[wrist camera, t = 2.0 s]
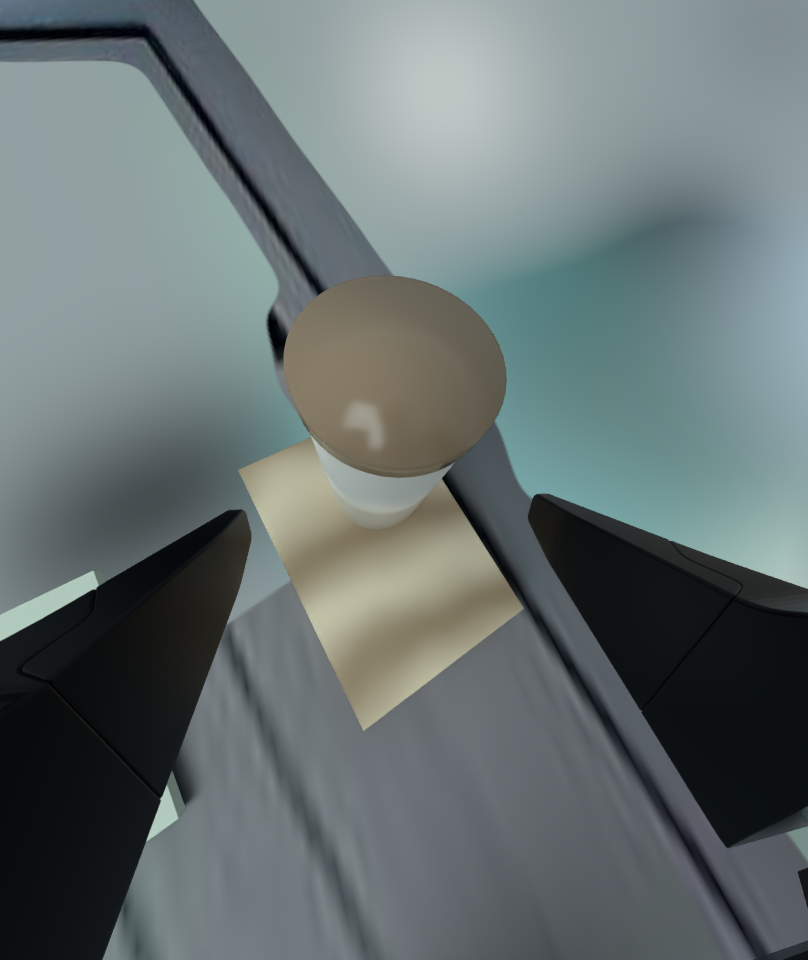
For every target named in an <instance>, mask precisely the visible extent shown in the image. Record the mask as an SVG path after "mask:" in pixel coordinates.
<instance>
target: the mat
mask: <svg viewBox="0 0 808 960" xmlns="http://www.w3.org/2000/svg"><path fill="white" fill-rule="evenodd" d="M104 582H106V580H105V576H104V574H103V571H102V570H101V571H100V570H97V571H96V570H94V571H91V572H89V573H87V574H85V575H83V576H81V577H79V578H77V579H74V580H72V581H70V582H68V583H66V584H64V585H62V586H60V587H58V588H55V589H53V590H51V591H49V592H47V593H45V594H43V595H41V596H39V597H36V598H34V599H32V600H30V601H28V602H26V603H24V604H22V605H20V606H18V607H15V608H13V609H11V610H9V611H7V612H5V613H3V614H1V615H0V641H1V640H3V639H5V638H7V637H9V636H10V635H12V634H14V633H16V632H18V631H20V630H22V629H23V628H25V627H27V626H29V625H31V624H33V623H35V622H36V621H38V620H40V619H42V618H44V617H45V616H47V615H49V614H51V613H52V612H54V611H56V610H58V609H59V608H61V607H63V606H65V605H67V604H68V603H70V602H72V601H74V600H75V599H77V598H79V597H80V596H82V595H84V594H85V593H87V592H89V591H91V590H93V589H95V590H96V588H97V587H98V586H99V585H101V584H103V583H104ZM160 799H161V803H160V805H159V808H158V811H157V814H156V816H155V819H154V822H153V824H152V827H151V830H150V832H149V835H148V838H147V841H148V840H149V839H151V838H152V837H154V836H155V835H156V834H158V833H159V832H161V831H162V830H163V829H165V828H166V827H168V826H169V825H170V824H172V823H173V822H175V821H176V820H177V819H179V817H180V816H181V815H182V813H183V812H184V811H185V809H186V808H185V805H184V802H183V800H182V797H181V794H180V791H179V788H178V785H177V782H176V780H175V777H174V774H173V771H172V772H171V775H170V778H169V780H168V783H167V786H166V788H165V791H164V794H163V796H162V798H160ZM147 841H146V842H147Z"/></svg>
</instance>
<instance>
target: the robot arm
mask: <svg viewBox="0 0 808 960" xmlns="http://www.w3.org/2000/svg"><path fill="white" fill-rule="evenodd" d="M528 520H529V523H530V525H531V527H532V529H533V532H534V534H535V536H536V538H537V540H538V542H539V544H540V546H541V548H542V550H543V552H544V554H545V556H546V558H547V560H548V562H549V563H550V565H551V567H552V568H553V570H554V572H555V573H556V575H557V576H558V578H559V580H560V581H561V583H562V585H563V586H564V588H565V589H566V591H567V593H568V594H569V596H570V597H571V599H572V601H573V602H574V604H575V606H576V607H577V609H578V610H579V612H580V614H581V615H582V617H583V618H584V620H585V622H586V623H587V625H588V627H589V628H590V630H591V631H592V633H593V635H594V636H595V638H596V639H597V641H598V643H599V644H600V646H601V648H602V649H603V651H604V652H605V654H606V656H607V657H608V659H609V660H610V662H611V664H612V665H613V667H614V669H615V670H616V672H617V673H618V675H619V677H620V678H621V680H622V681H623V683H624V685H625V686H626V688H627V690H628V691H629V693H630V694H631V696H632V698H633V699H634V701H635V702H636V704H637V706H638V707H639V709H640V710H642V714H643V716H644V717H645V719H646V721H647V722H648V724H649V726H650V727H651V729H652V730H653V732H654V734H655V735H656V737H657V738H658V740H659V742H660V743H661V745H662V747H663V748H664V750H665V751H666V753H667V755H668V756H669V758H670V759H671V761H672V763H673V764H674V766H675V768H676V769H677V771H678V772H679V774H680V776H681V777H682V779H683V781H684V782H685V784H686V785H687V787H688V789H689V790H690V792H691V793H692V795H693V797H694V798H695V800H696V802H697V803H698V805H699V806H700V808H701V810H702V811H703V813H704V814H705V816H706V818H707V819H708V821H709V823H710V824H711V826H712V827H713V829H714V831H715V832H716V834H717V835H718V837H719V838H720V840H721V841H722V842H723V844H724V845H725V846H726V847H727V848H731V847H735V846H739V845H742V844H746V843H749V842H753V841H757V840H760V839H764V838H767V837H771V836H775V835H778V834H782V833H785V832H789V831H793V830H796V829H799V828H803V827H807V826H808V589H806V588H803V587H800V586H797V585H794V584H792V583H789V582H786V581H782V580H780V579H777V578H774V577H771V576H768V575H765V574H762V573H760V572H756V571H754V570H751V569H748V568H745V567H742V566H739V565H736V564H733V563H731V562H728V561H725V560H722V559H719V558H716V557H714V556H710V555H708V554H705V553H703V552H700V551H697V550H695V549H692V548H689V547H686V546H684V545H681V544H678V543H675V542H673V541H669V540H668V539H665V538H663V537H660V536H657V535H655V534H652V533H649V532H647V531H644V530H642V529H639V528H636V527H634V526H631V525H629V524H626V523H623V522H621V521H618V520H616V519H613V518H610V517H608V516H605V515H602V514H600V513H597V512H595V511H592V510H589V509H587V508H584V507H581V506H579V505H576V504H574V503H571V502H568V501H566V500H563V499H560V498H558V497H555V496H553V495H550V494H536V495H535V496H534V497H533V499H532V503H531V506H530V510H529V513H528ZM250 543H251V530H250V526H249V522H248V519H247V515H246V513H245V511H244V510H228V511H226V512H224V513H223V514H221V515H219V516H218V517H216V518H214V519H212V520H211V521H209V522H207V523H205V524H204V525H202V526H200V527H199V528H197V529H195V530H193V531H192V532H190V533H188V534H187V535H185V536H183V537H181V538H180V539H178V540H176V541H175V542H173V543H171V544H169V545H168V546H166V547H164V548H163V549H161V550H159V551H157V552H156V553H154V554H152V555H151V556H149V557H147V558H146V559H144V560H142V561H140V562H139V563H137V564H135V565H134V566H132V567H130V568H128V569H127V570H125V571H123V572H122V573H120V574H118V575H116V576H115V577H113V578H111V579H110V580H108V581H106V582H104V583H103V584H101V585H99V586H98V587H97V588H96V590H95V589H93V590H91V591H89V592H87V593H85V594H84V595H82V596H80V597H79V598H77V599H75V600H74V601H72V602H70V603H68V604H67V605H65V606H63V607H61V608H59V609H58V610H56V611H54V612H52V613H51V614H49V615H47V616H45V617H44V618H42V619H40V620H38V621H36V622H35V623H33V624H31V625H29V626H27V627H25V628H23V629H22V630H20V631H18V632H16V633H14V634H12V635H10V636H9V637H7V638H5V639H3V640H1V641H0V960H102V959H103V957H104V954H105V951H106V948H107V946H108V943H109V940H110V938H111V935H112V932H113V930H114V927H115V924H116V922H117V919H118V916H119V913H120V911H121V908H122V905H123V903H124V900H125V897H126V895H127V892H128V889H129V886H130V884H131V881H132V878H133V876H134V873H135V870H136V868H137V865H138V862H139V859H140V857H141V854H142V851H143V849H144V846H145V843H146V841H147V838H148V835H149V832H150V830H151V827H152V824H153V822H154V819H155V816H156V814H157V811H158V808H159V805H160V803H161V799H160V798H162V796H163V794H164V791H165V788H166V786H167V783H168V780H169V778H170V775H171V772H172V770H173V767H174V764H175V762H176V759H177V756H178V753H179V751H180V748H181V745H182V743H183V740H184V737H185V735H186V732H187V729H188V726H189V724H190V721H191V718H192V716H193V713H194V710H195V708H196V705H197V702H198V699H199V697H200V694H201V691H202V689H203V686H204V683H205V681H206V678H207V675H208V672H209V670H210V667H211V664H212V662H213V659H214V656H215V654H216V651H217V648H218V646H219V643H220V640H221V637H222V635H223V632H224V629H225V627H226V624H227V621H228V619H229V616H230V613H231V610H232V607H233V605H234V602H235V600H236V597H237V594H238V591H239V588H240V584H241V581H242V577H243V572H244V568H245V564H246V560H247V556H248V552H249V547H250ZM798 874H799V878H800V882H801V885H802V889H803V892H804V896H805V900H806V903H807V907H808V868H806V869H803V870H801V871H798ZM754 960H808V941H805V942H802V943H799V944H797V945H794V946H791V947H788V948H785V949H782V950H780V951H777V952H774V953H771V954H768V955H765V956H763V957H760V958H757V959H754Z"/></svg>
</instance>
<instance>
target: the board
mask: <svg viewBox="0 0 808 960" xmlns="http://www.w3.org/2000/svg"><path fill="white" fill-rule="evenodd" d="M238 471H239V473H240V475H241V477H242V479H243V481H244V483H245V485H246V487H247V490H248V491H249V494H250V496H251V498H252V500H253V502H254V504H255V506H256V508H257V510H258V512H259V514H260V517H261V519H262V521H263V523H264V525H265V527H266V529H267V531H268V533H269V535H270V537H271V539H272V541H273V544H274V546H275V548H276V550H277V552H278V554H279V556H280V558H281V560H282V562H283V564H284V566H285V569H286V570H287V573H288V575H289V577H290V579H291V581H292V583H293V585H294V587H295V589H296V591H297V593H298V596H299V598H300V600H301V602H302V604H303V606H304V608H305V610H306V612H307V614H308V616H309V618H310V621H311V623H312V625H313V627H314V629H315V631H316V633H317V635H318V637H319V639H320V641H321V643H322V645H323V648H324V650H325V652H326V654H327V656H328V658H329V660H330V662H331V664H332V666H333V668H334V670H335V672H336V675H337V677H338V679H339V681H340V683H341V685H342V687H343V689H344V691H345V693H346V695H347V697H348V700H349V702H350V704H351V706H352V708H353V710H354V712H355V714H356V716H357V718H358V720H359V722H360V724H361V727H362V729H363V731H364V730H365V729H367V728H368V727H369V726H371V725H372V724H373V723H375V722H376V721H377V720H379V719H380V718H381V717H383V716H384V715H385V714H386V713H388V712H389V711H390V710H392V709H393V708H394V707H396V706H397V705H398V704H400V703H401V702H402V701H404V700H405V699H406V698H407V697H409V696H410V695H411V694H413V693H414V692H415V691H417V690H418V689H419V688H421V687H422V686H423V685H424V684H426V683H427V682H428V681H430V680H431V679H432V678H434V677H435V676H436V675H438V674H439V673H440V672H442V671H443V670H444V669H445V668H447V667H448V666H449V665H451V664H452V663H453V662H455V661H456V660H457V659H459V658H460V657H461V656H463V655H464V654H465V653H466V652H468V651H469V650H470V649H472V648H473V647H474V646H476V645H477V644H478V643H480V642H481V641H482V640H484V639H485V638H486V637H487V636H489V635H490V634H491V633H493V632H494V631H495V630H497V629H498V628H499V627H501V626H502V625H503V624H505V623H506V622H507V621H508V620H510V619H511V618H512V617H514V616H515V615H516V614H518V613H519V612H520V611H522V610H523V609H524V608H523V606H522V605H521V603H520V602H519V600H518V599H517V597H516V595H515V594H514V592H513V591H512V589H511V587H510V586H509V584H508V583H507V581H506V580H505V578H504V576H503V575H502V573H501V572H500V570H499V569H498V567H497V565H496V564H495V562H494V561H493V559H492V557H491V556H490V554H489V553H488V551H487V550H486V548H485V546H484V545H483V543H482V542H481V540H480V539H479V537H478V535H477V534H476V532H475V531H474V529H473V527H472V526H471V524H470V523H469V521H468V520H467V518H466V516H465V515H464V513H463V512H462V510H461V509H460V507H459V505H458V504H457V502H456V501H455V499H454V497H453V496H452V494H451V493H450V491H449V490H448V488H447V486H446V485H445V483H444V482H443V480H442V478H441V480H440V481H439V482H438V483H437V484H436V486H435V487H434V488H433V489H432V490H431V491H430V493H429V494H428V495H427V496H426V497H425V499H424V500H423V501H422V502H421V503H420V504H419V506H418V507H417V508H416V509H415V510H414V512H413V513H412V514H411V515H410V516H409V517H408V518H407V519H406V520H405V521H404V522H402V523H401V524H399V525H397V526H395V527H392V528H389V529H384V530H371V529H366V528H363V527H360V526H358V525H356V524H354V523H352V522H351V521H350V520H348V519H347V518H346V517H345V516H344V515H343V513H342V512H341V511H340V509H339V508H338V506H337V503H336V501H335V498H334V496H333V493H332V490H331V488H330V485H329V483H328V480H327V477H326V475H325V472H324V469H323V467H322V464H321V461H320V459H319V456H318V453H317V451H316V448H315V446H314V443H313V440H312V438H309V439H306V440H304V441H302V442H300V443H298V444H295V445H293V446H291V447H289V448H286V449H284V450H282V451H280V452H277V453H275V454H273V455H271V456H268V457H267V458H264V459H262V460H260V461H257V462H255V463H253V464H251V465H249V466H246V467H244V468H242V469H239V470H238Z"/></svg>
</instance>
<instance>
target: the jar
mask: <svg viewBox="0 0 808 960" xmlns="http://www.w3.org/2000/svg"><path fill="white" fill-rule="evenodd" d="M284 371H285V378H286V382H287V385H288V389H289V392H290V394H291V397H292V399H293V401H294V404H295V406H296V409H297V411H298V414H299V416H300V418H301V420H302V422H303V424H304V426H305V427H306V429H307V430H308V432H309V433H310V435H311V438H312V440H313V443H314V446H315V448H316V451H317V453H318V456H319V459H320V461H321V464H322V467H323V469H324V472H325V475H326V477H327V480H328V483H329V485H330V488H331V490H332V493H333V496H334V498H335V501H336V503H337V506H338V508H339V509H340V511H341V512H342V513H343V515H344V516H345V517H346V518H347V519H348V520H350V521H351V522H352V523H354V524H356V525H358V526H360V527H363V528H366V529H371V530H384V529H389V528H392V527H395V526H397V525H399V524H401V523H402V522H404V521H405V520H406V519H407V518H408V517H409V516H410V515H411V514H412V513H413V512H414V510H415V509H416V508H417V507H418V506H419V504H420V503H421V502H422V501H423V500H424V499H425V497H426V496H427V495H428V494H429V493H430V491H431V490H432V489H433V488H434V487H435V486H436V484H437V483H438V482H439V481H440V480H441V478H442V477H443V476H444V475H445V474H446V473H447V471H448V470H449V469H450V468H451V467H452V465H453V464H454V463H455V462H456V461H458V460H459V459H461V458H462V457H463V456H464V455H465V454H466V453H468V452H469V451H470V450H471V448H472V447H473V446H474V445H475V444H476V443H477V442H478V441H479V439H480V438H481V437H482V436H483V435H484V434H485V433H486V431H487V430H488V429H489V428H490V427H491V425H492V424H493V422H494V421H495V419H496V417H497V416H498V413H499V411H500V409H501V407H502V404H503V400H504V396H505V392H506V367H505V362H504V358H503V355H502V352H501V350H500V346H499V344H498V342H497V340H496V338H495V336H494V334H493V333H492V331H491V330H490V328H489V327H488V326H487V324H486V323H485V322H484V320H483V319H482V318H481V317H480V316H479V315H478V314H477V313H476V312H475V311H474V310H473V309H472V308H471V307H469V306H468V305H467V304H466V303H465V302H463V301H462V300H460V299H459V298H458V297H456V296H454V295H453V294H451V293H449V292H447V291H446V290H443V289H441V288H439V287H437V286H435V285H432V284H429V283H427V282H424V281H420V280H416V279H412V278H406V277H400V276H387V275H384V276H369V277H361V278H357V279H353V280H349V281H346V282H343V283H341V284H338V285H335V286H334V287H332V288H330V289H328V290H326V291H324V292H323V293H321V294H320V295H318V296H317V297H315V298H314V299H313V300H312V301H311V302H310V303H309V304H308V305H307V306H305V308H304V309H303V310H302V311H301V313H300V314H299V315H298V316H297V318H296V320H295V321H294V323H293V325H292V327H291V329H290V332H289V334H288V337H287V340H286V345H285V349H284Z"/></svg>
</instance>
